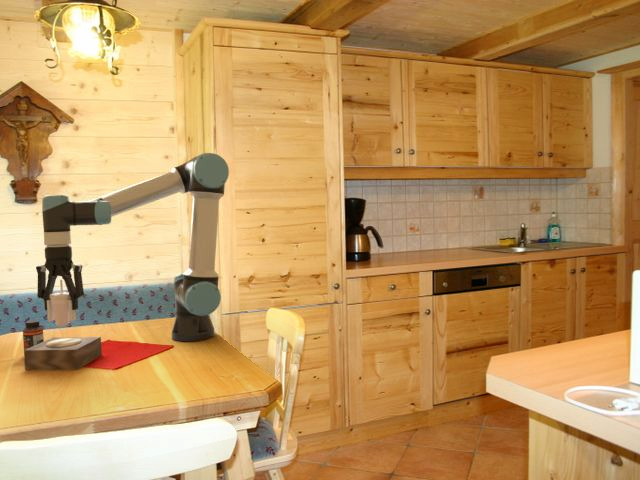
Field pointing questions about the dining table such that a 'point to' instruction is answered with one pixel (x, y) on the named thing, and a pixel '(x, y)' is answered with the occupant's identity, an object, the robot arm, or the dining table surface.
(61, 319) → the white drink cup
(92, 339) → the stand
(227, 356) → the dining table surface
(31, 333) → the supplement bottle
